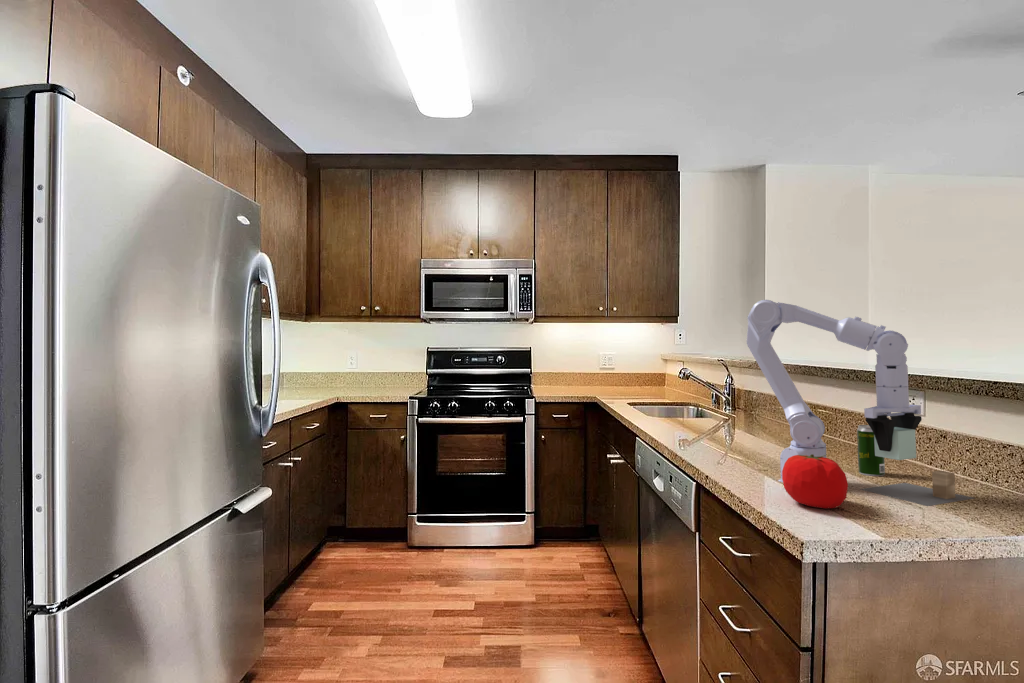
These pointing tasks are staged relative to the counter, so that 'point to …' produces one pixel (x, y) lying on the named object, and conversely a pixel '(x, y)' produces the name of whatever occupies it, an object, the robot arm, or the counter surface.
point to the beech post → (943, 484)
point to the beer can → (868, 453)
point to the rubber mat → (914, 494)
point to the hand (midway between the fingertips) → (894, 449)
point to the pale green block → (899, 445)
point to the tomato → (815, 481)
